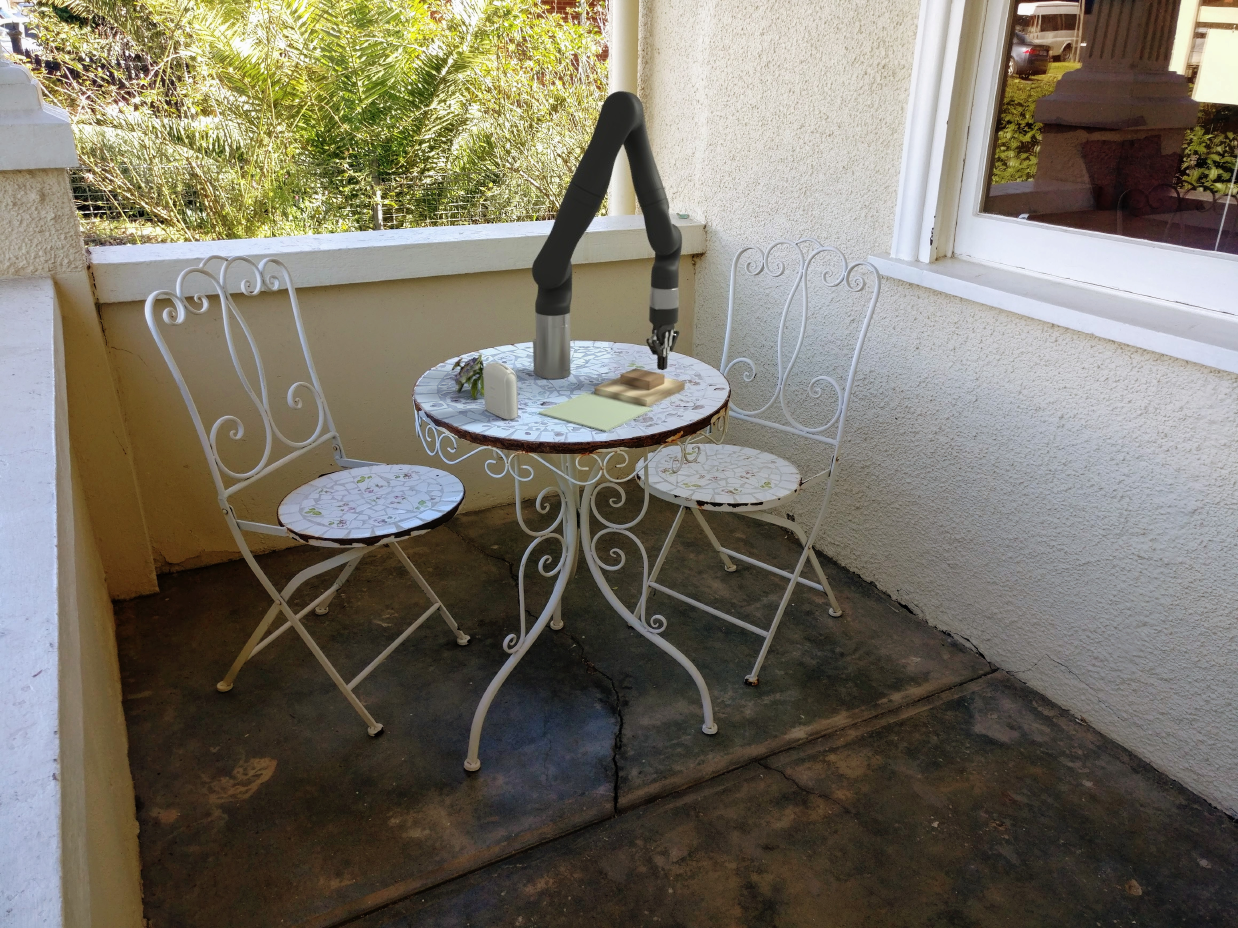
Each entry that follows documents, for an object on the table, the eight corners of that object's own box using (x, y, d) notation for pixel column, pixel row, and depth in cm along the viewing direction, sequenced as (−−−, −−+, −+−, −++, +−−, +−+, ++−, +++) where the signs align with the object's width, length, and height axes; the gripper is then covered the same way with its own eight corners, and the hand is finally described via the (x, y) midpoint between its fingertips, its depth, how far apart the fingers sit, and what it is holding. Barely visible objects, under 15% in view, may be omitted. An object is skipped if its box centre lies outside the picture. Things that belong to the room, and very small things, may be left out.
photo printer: (482, 409, 213) (480, 360, 208) (497, 406, 216) (495, 357, 211) (505, 421, 206) (503, 370, 201) (520, 418, 208) (519, 367, 204)
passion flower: (461, 412, 227) (448, 369, 229) (502, 401, 229) (489, 358, 231) (460, 400, 216) (447, 355, 218) (503, 389, 219) (489, 344, 220)
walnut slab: (620, 383, 227) (620, 374, 226) (635, 377, 233) (635, 368, 232) (649, 390, 223) (649, 381, 222) (664, 383, 228) (664, 374, 227)
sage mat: (538, 413, 211) (538, 412, 211) (586, 393, 226) (586, 392, 226) (606, 432, 201) (606, 430, 201) (652, 409, 215) (652, 408, 215)
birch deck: (594, 394, 225) (594, 387, 224) (633, 378, 239) (634, 370, 238) (646, 407, 217) (646, 400, 216) (684, 389, 230) (685, 382, 229)
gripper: (665, 298, 234) (663, 361, 241) (637, 307, 224) (636, 372, 231) (689, 301, 230) (687, 366, 237) (662, 311, 220) (660, 377, 227)
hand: (662, 369), depth 234 cm, fingers closed
